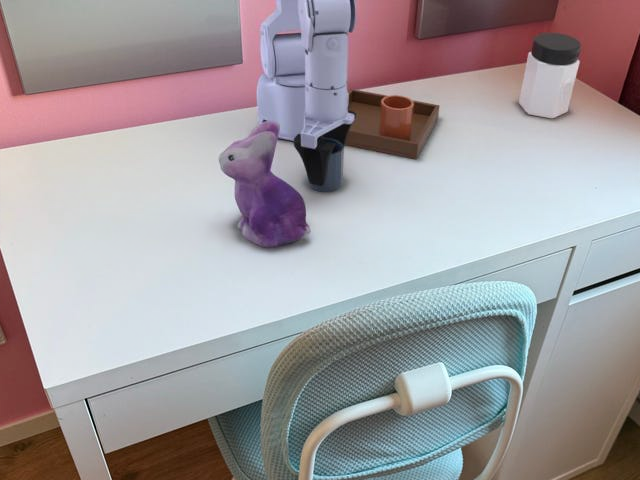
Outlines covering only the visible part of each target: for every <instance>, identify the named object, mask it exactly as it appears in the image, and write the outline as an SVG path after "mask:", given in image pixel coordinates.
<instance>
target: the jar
mask: <svg viewBox="0 0 640 480" xmlns="http://www.w3.org/2000/svg"><path fill="white" fill-rule="evenodd" d="M581 48H582V43H581V42H580V40H578V39H577V38H575V37H573V36H572V35H568V34H564V33H558V32H543V33H539V34H536V35H535V36H534V38H533V42H532V47H531V51H529V52H528V53H527V59H526V64H525V68H524V75H523V79H522V84H521V89H520V95H519V99H518V104H519V105H520V106H521V108H522V109H523V110H524V111H525V113H526V114H527V115H530V116H535V117H541V118H546V119H551V120H552V119H555V118H557V117H559V116H562V115H564V114H566V113H567V112H568V111H569V106H570V103H571V98H572V94H573V91H574V86H575V82H576V78H577V74H578V70H579V67H580V62H581V61H580V60H579V56H580V53H581Z"/></svg>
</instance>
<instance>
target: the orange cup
mask: <svg viewBox="0 0 640 480" xmlns="http://www.w3.org/2000/svg"><path fill="white" fill-rule="evenodd" d="M413 111H414V102H413V99H411V98H410V97H408V96H405V95H398V94H393V95H387V97H384V98H383V99H382V100H381V108H380V124H379V135H382V136H387V137H392V138H397V139H402V140H407V141H410V138H411V131H412V121H413Z"/></svg>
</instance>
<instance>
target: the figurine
mask: <svg viewBox="0 0 640 480" xmlns="http://www.w3.org/2000/svg"><path fill="white" fill-rule="evenodd" d="M279 130H280V125H279V124H278V123H277V122H273V121H266V122H263V123H262V124H260V125H259V126H258V125H257V126H256V127H255V128H254V129H253V130H252V131H251V133H250V134H248V136H246V137H245V138H243V139H240V140H235V141H233V142H232V143H231V144H230V145H229V146H228V147H227V148H226V149H224V150H223V151H222V152H221V153H220V154H219V155H218V163H219V167H220V169H221V171H222V173H223V174H224V175H226V176H228V177H229V178H231V179H233V180H234V193H233V194H234V201H235V203H236V206H237V208H238V210H239V212H240V214H241V217H240V219H239V221H238V223H237V228H238V230H240V231H241V233H242V236H243V237H244V238H245V239H246V240H247V241H249V242H251V243H254V245H257V246H260V247H263V248H274V247H278V246H281V245H287V244H292V243H294V242H297V241H300V240H302V239H304V238H306V237H307V236H308V235H309V234H311V227H310V225H309V224H308V223H307V207H306V202H305V200H304V197H303V195H301V193H300V192H299V191H298V190H297V189H296V188H295V187H293V186H292V185H291V184H289V183H288V182H287V181H285V180H284V179H282V178H280V177H278V176H277V175H275V174H274V173H273V172H272V165H273V160H274V156H275V152H276V149H277V148H276V147H277V143H278V139H279V138H278V135H279Z"/></svg>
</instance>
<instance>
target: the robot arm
mask: <svg viewBox="0 0 640 480" xmlns="http://www.w3.org/2000/svg"><path fill="white" fill-rule="evenodd" d="M356 3H357V2H356V0H275V5H276V8H275V9H274V11H272V13H271V14H269V16H267V17H266V19H264V20H263V21H262V22H261V25H260V28H259V29H260V30H259V33H260V42H259V51H260V60H261V65H262V70H263V72H262V73H261V74H260V76H259V78H258V81H257V86H256V106H257V107H256V108H257V126H259V125H260V124H262V123H263V122H266V121H273V122H277V123H278V124H279V125H280V130H279V135H278V139H282V140H287V141H292V142H293V148H295V150H296V151H297V153H298V154H299V156H300V158H301V161H302V163H303V166H304V169H305V172H306V177H307V181H308V180H309V183H310V184H314V185H319V186H323V185H324V182H325V179H326V174H327V167H328V162H329V158H330V155H331V152H332V150H333V148H334V146H335V145H336V144H334V143H329V142H324V139H322V135H323V137H324V138H333V139H336V140H338V141H340V142H341V143H342V144H343V146H344V148H345V147H346V145H345V142H346V138H347V135H348V132H349V130H350V127H351V125H352V123H353V121H354V119H355V118H356V113H355V112H353V111H349V110H347V107H348V99H349V93H347V92H348V71H349V70H348V69H349V67H348V66H349V65H348V64H349V37H350V35H349V33H350V34H352V33H353V32H354V30H355V28H356V24H357V5H356ZM296 31H297V32H296ZM299 31H300V32H299ZM282 32H283V33H282ZM284 32H289V33H284Z"/></svg>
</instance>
